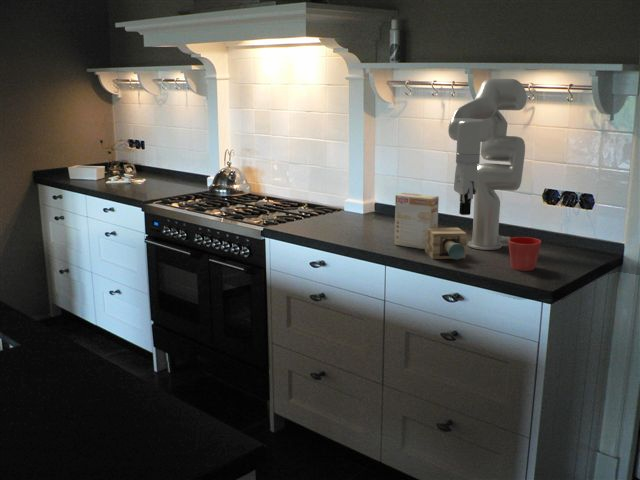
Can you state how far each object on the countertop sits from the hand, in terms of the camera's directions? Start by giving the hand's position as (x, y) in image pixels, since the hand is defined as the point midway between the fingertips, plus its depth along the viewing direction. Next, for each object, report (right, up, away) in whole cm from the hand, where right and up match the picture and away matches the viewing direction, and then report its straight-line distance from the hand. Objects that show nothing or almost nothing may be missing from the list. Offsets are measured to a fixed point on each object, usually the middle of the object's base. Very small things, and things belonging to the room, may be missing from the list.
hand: (464, 214), depth 235 cm
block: (-3, -14, +23) cm, 27 cm away
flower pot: (+21, -18, +6) cm, 28 cm away
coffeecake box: (-11, -11, +36) cm, 40 cm away
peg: (-2, -14, +15) cm, 21 cm away
